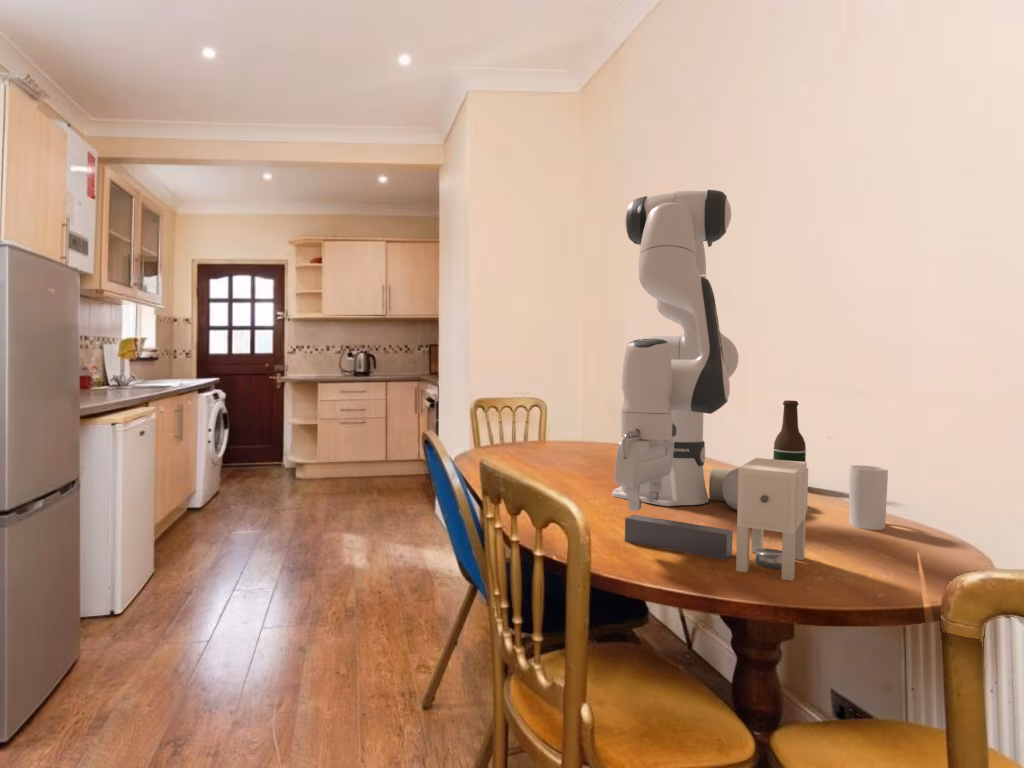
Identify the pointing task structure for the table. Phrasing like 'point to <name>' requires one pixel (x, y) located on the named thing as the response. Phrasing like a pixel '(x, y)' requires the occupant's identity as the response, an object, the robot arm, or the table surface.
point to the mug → (867, 496)
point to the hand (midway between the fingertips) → (644, 505)
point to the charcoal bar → (679, 536)
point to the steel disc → (769, 558)
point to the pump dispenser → (731, 489)
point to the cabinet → (772, 509)
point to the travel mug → (717, 484)
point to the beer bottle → (790, 436)
